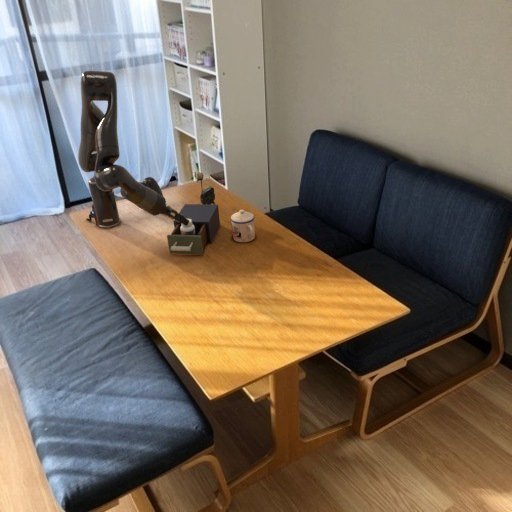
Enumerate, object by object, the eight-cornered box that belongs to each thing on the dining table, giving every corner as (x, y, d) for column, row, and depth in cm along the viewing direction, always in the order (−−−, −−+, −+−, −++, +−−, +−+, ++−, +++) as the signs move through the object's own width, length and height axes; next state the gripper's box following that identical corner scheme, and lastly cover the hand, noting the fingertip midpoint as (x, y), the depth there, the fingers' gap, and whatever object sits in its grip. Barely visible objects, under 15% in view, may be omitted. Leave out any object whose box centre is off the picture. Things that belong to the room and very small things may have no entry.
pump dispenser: (137, 210, 228) (131, 178, 220) (157, 202, 234) (152, 171, 226) (150, 216, 221) (144, 183, 214) (170, 209, 227) (165, 176, 220)
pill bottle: (181, 248, 190) (178, 224, 186) (183, 241, 195) (179, 218, 190) (196, 247, 190) (193, 223, 186) (197, 240, 195) (194, 217, 190)
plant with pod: (222, 213, 220) (217, 168, 210) (198, 220, 215) (193, 175, 205) (212, 207, 226) (208, 163, 216) (190, 214, 221) (184, 170, 211)
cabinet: (211, 243, 197) (208, 221, 192) (176, 242, 199) (173, 221, 194) (220, 225, 210) (218, 204, 205) (187, 224, 212) (184, 204, 208)
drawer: (199, 261, 183) (196, 243, 179) (165, 260, 185) (162, 242, 181) (212, 236, 200) (210, 219, 196) (181, 235, 202) (178, 218, 198)
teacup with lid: (228, 236, 201) (225, 209, 195) (248, 230, 205) (246, 203, 199) (243, 248, 192) (241, 220, 186) (264, 241, 195) (262, 213, 190)
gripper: (165, 196, 170) (197, 216, 182) (143, 185, 180) (175, 205, 192) (154, 216, 170) (187, 234, 182) (133, 204, 179) (165, 222, 191)
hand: (181, 219), depth 187 cm, fingers open, 8 cm apart
